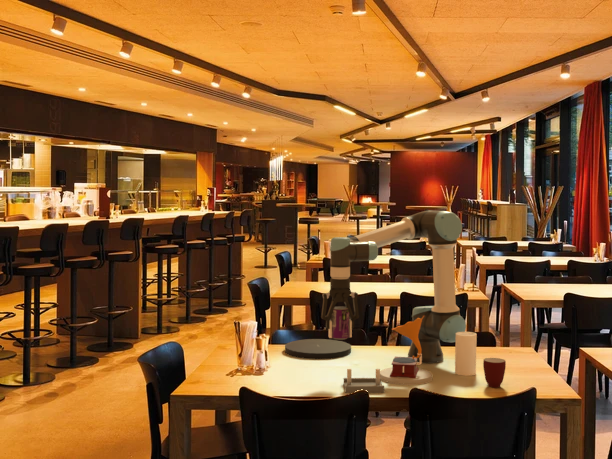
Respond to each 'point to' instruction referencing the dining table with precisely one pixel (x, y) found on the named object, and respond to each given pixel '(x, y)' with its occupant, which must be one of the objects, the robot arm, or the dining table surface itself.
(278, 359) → the dining table surface
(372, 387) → the cradle tray
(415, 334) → the gramophone
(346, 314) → the beverage can
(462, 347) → the white cylinder
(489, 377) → the mug
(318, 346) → the disc
